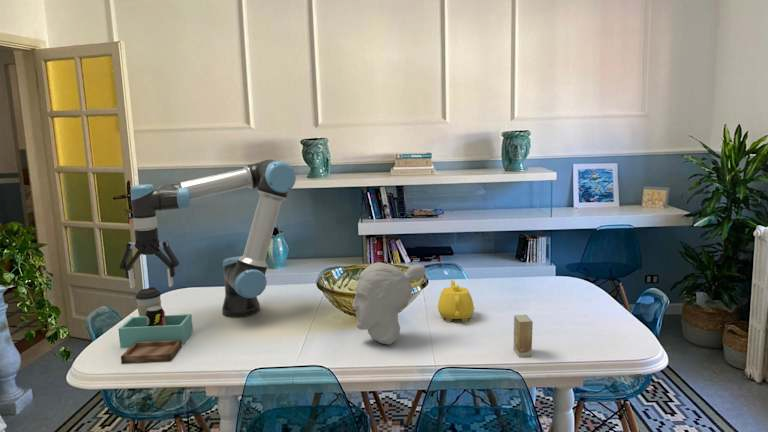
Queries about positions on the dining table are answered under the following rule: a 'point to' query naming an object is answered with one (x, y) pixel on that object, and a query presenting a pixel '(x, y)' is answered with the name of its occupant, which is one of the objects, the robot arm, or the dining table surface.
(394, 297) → the bust
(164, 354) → the tray
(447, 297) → the teapot
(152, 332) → the teal open box
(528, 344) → the skincare box
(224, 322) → the dining table surface
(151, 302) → the coffee cup
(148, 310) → the beverage can
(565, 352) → the dining table surface
